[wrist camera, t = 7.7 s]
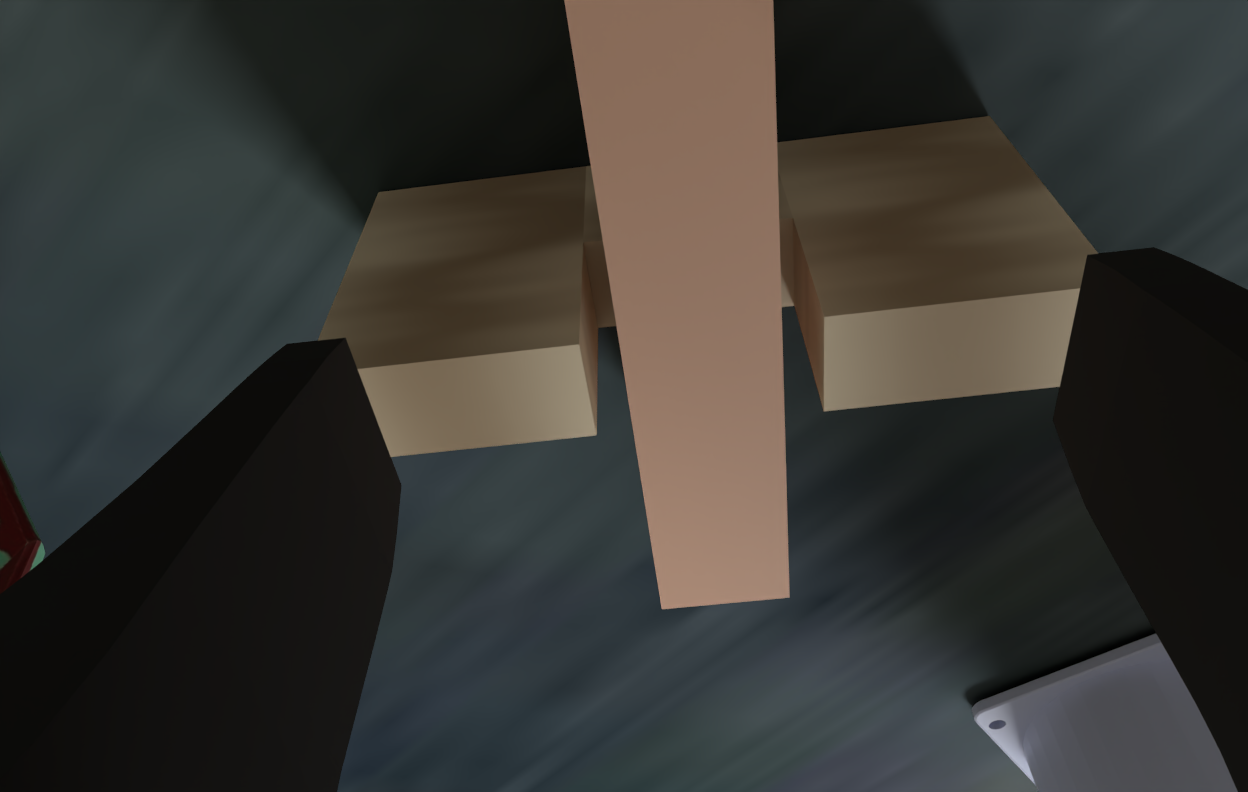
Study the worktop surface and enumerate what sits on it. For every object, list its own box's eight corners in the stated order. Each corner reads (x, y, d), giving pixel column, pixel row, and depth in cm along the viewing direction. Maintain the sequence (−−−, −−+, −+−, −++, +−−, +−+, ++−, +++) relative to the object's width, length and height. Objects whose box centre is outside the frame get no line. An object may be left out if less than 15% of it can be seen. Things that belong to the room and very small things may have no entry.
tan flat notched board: (568, -169, 15) (551, -81, 10) (719, -192, 15) (769, -112, 10) (650, 407, 23) (661, 609, 18) (751, 396, 22) (789, 597, 18)
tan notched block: (990, 115, 18) (1121, 284, 13) (979, 200, 19) (1098, 383, 15) (378, 191, 19) (303, 375, 14) (403, 269, 20) (340, 461, 15)
